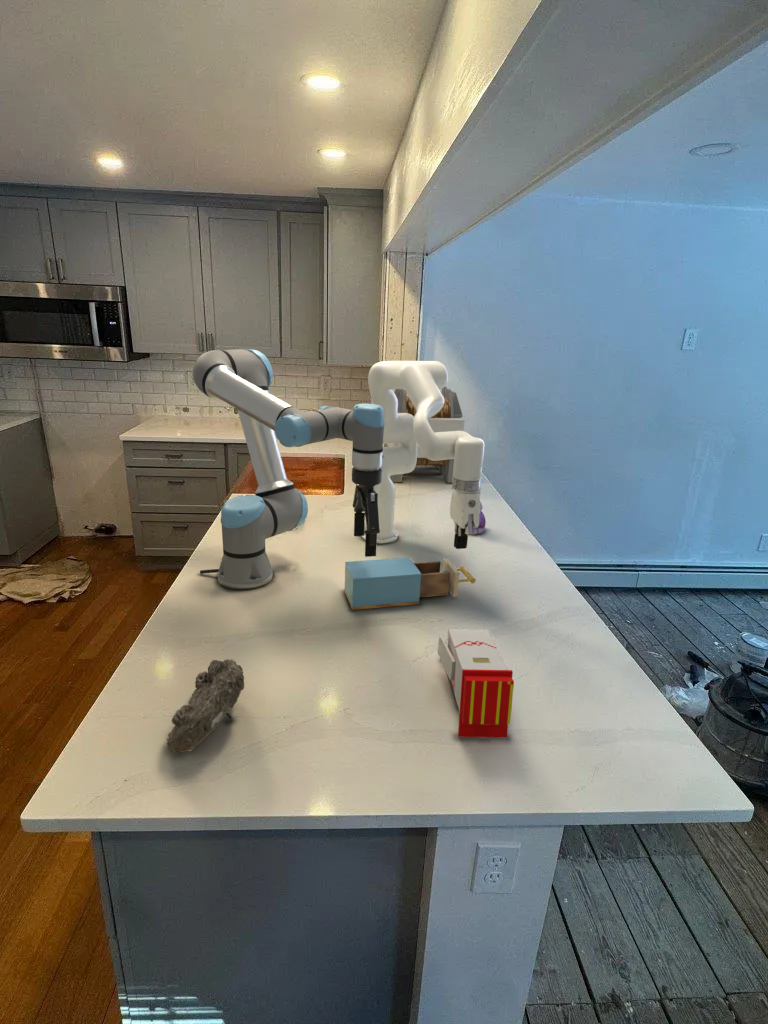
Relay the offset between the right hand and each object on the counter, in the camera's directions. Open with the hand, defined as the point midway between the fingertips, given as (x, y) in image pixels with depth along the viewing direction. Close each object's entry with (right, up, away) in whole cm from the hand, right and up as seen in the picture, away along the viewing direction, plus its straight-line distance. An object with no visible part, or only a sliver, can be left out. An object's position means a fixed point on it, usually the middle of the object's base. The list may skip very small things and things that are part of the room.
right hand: (460, 547), depth 156 cm
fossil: (-54, -29, -48) cm, 78 cm away
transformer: (-4, +29, +119) cm, 122 cm away
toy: (-3, -28, -38) cm, 47 cm away
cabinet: (-22, -14, -1) cm, 26 cm away
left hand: (-26, +1, -8) cm, 27 cm away
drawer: (-8, -12, +3) cm, 15 cm away
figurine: (+12, +3, +50) cm, 51 cm away
